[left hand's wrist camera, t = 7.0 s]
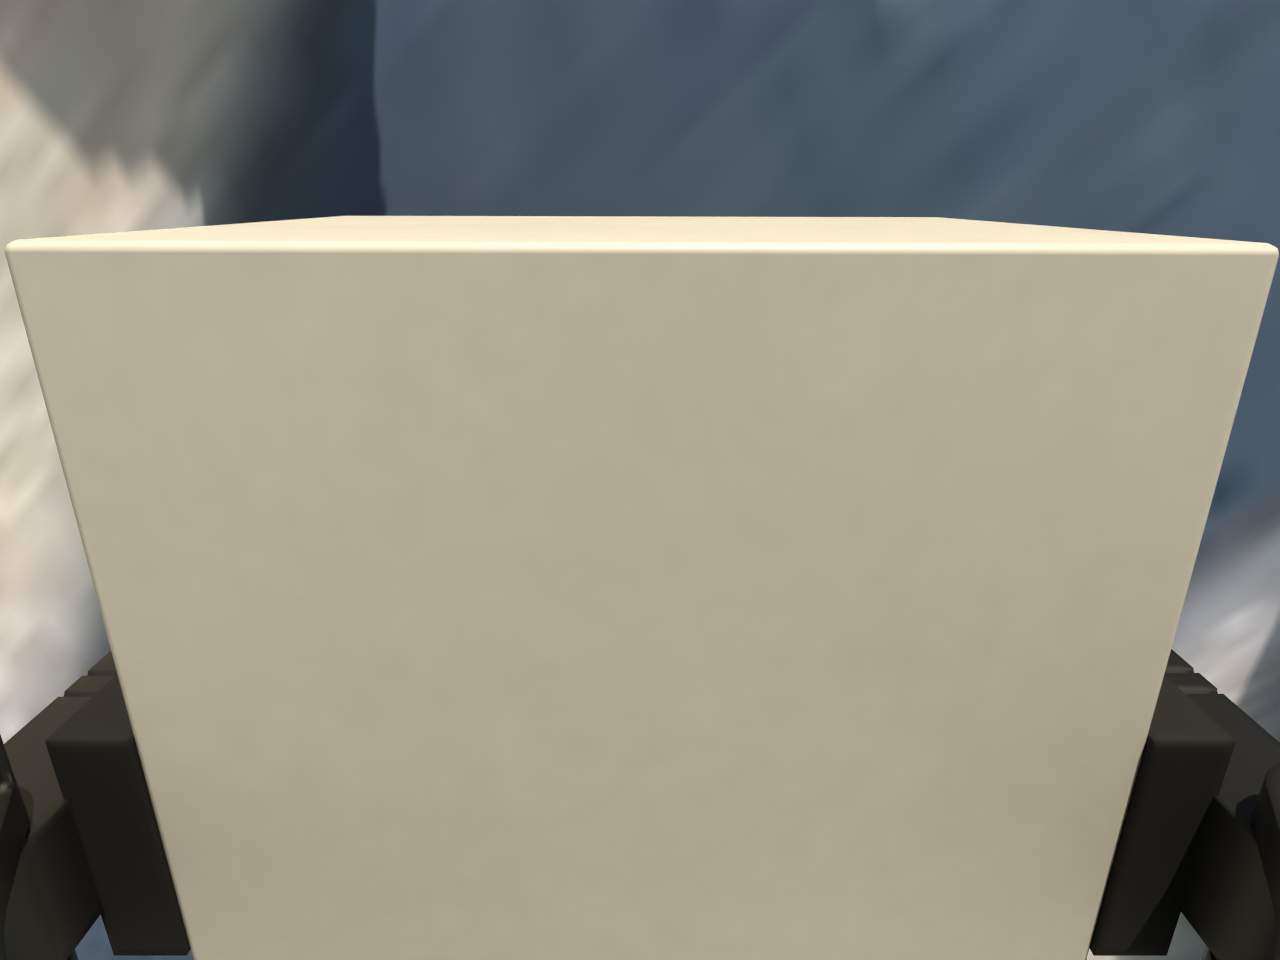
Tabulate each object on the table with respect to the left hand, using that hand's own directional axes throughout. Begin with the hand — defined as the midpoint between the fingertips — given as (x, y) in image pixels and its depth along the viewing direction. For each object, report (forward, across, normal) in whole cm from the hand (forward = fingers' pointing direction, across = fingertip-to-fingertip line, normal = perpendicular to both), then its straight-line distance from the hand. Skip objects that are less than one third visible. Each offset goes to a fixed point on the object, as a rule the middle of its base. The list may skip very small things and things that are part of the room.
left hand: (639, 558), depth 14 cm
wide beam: (0, 0, -28) cm, 28 cm away
